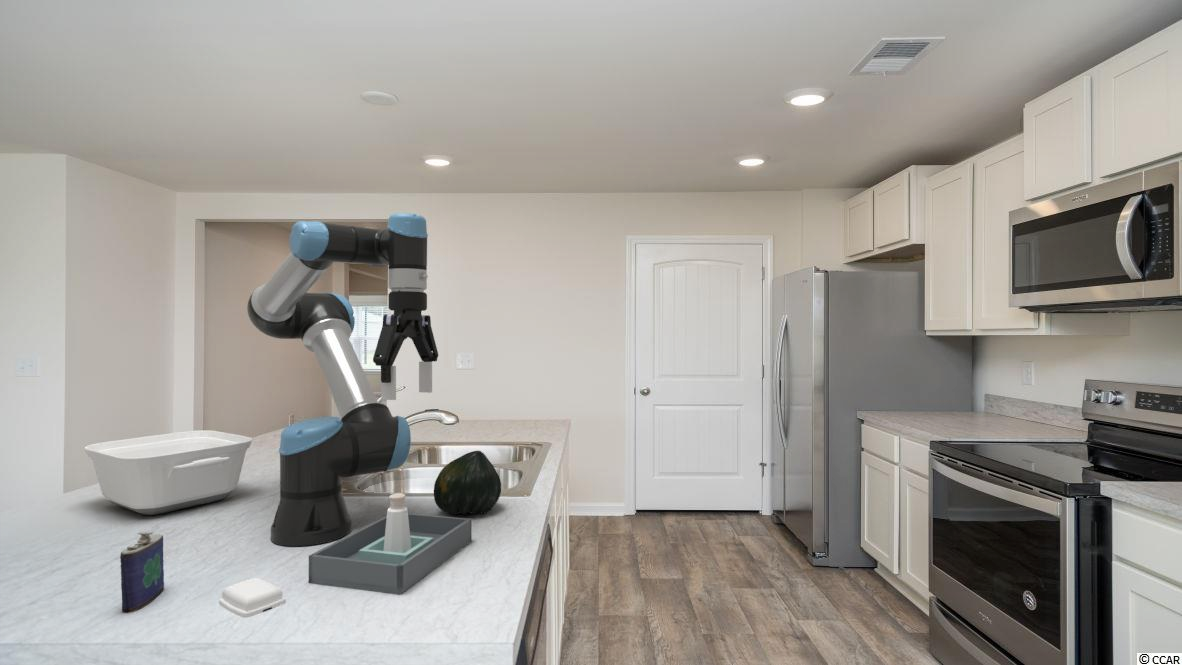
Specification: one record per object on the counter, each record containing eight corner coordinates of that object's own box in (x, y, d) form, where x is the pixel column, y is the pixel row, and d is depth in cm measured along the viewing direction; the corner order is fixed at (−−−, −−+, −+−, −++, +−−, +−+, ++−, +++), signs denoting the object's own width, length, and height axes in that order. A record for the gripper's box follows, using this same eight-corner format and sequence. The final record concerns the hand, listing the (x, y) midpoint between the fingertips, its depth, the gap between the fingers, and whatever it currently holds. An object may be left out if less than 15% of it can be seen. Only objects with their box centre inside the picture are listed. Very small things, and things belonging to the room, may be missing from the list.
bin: (308, 582, 105) (308, 555, 105) (394, 533, 129) (394, 512, 129) (400, 594, 100) (400, 566, 100) (471, 541, 125) (471, 518, 125)
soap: (215, 605, 97) (215, 586, 97) (259, 590, 103) (259, 572, 102) (244, 621, 92) (243, 601, 92) (289, 604, 97) (289, 586, 97)
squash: (420, 484, 148) (440, 443, 140) (476, 477, 157) (498, 438, 149) (438, 536, 139) (460, 495, 132) (496, 525, 149) (521, 487, 141)
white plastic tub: (269, 500, 154) (269, 440, 154) (136, 532, 130) (135, 461, 130) (199, 481, 172) (199, 427, 172) (71, 506, 148) (70, 444, 148)
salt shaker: (388, 562, 111) (388, 500, 111) (377, 553, 115) (377, 494, 115) (417, 555, 114) (417, 495, 114) (406, 547, 118) (406, 489, 118)
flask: (151, 588, 102) (150, 523, 102) (170, 587, 103) (170, 522, 103) (116, 614, 93) (116, 542, 93) (138, 613, 94) (137, 541, 94)
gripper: (388, 287, 114) (388, 403, 114) (454, 293, 138) (454, 390, 138) (352, 287, 116) (353, 402, 116) (423, 294, 140) (423, 389, 140)
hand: (408, 395), depth 127 cm, fingers open, 13 cm apart
